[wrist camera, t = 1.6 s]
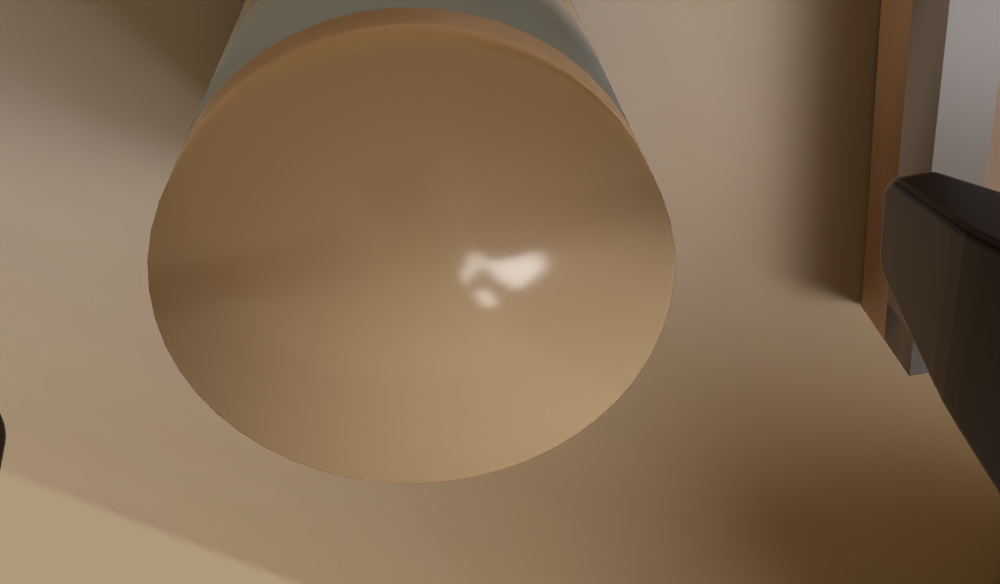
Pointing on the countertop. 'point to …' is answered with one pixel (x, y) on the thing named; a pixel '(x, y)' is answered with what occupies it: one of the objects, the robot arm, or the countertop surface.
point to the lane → (929, 123)
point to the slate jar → (410, 236)
